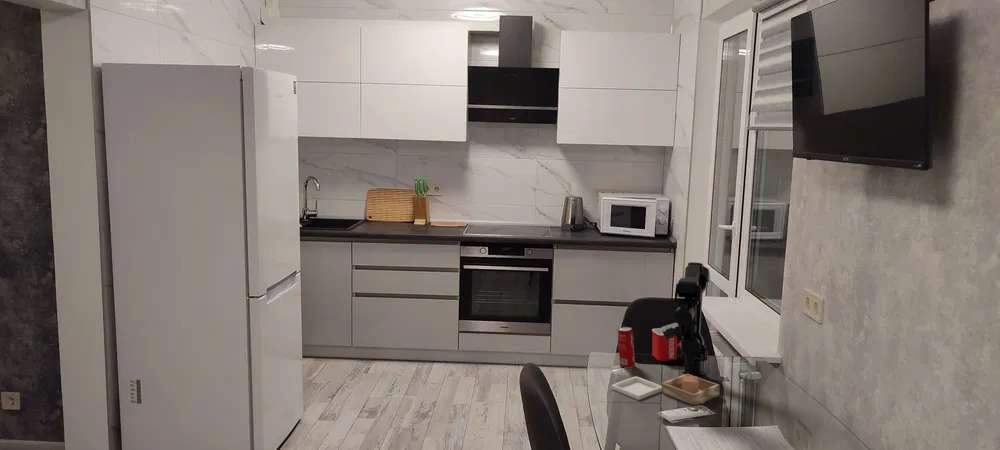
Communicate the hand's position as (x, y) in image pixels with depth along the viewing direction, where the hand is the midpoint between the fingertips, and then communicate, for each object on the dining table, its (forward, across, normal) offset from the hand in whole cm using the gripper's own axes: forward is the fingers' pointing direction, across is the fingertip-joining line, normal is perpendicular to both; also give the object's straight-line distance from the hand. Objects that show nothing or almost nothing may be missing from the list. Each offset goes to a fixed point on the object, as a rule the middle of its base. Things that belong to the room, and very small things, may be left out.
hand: (686, 361), depth 235 cm
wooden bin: (+11, +2, +1) cm, 12 cm away
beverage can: (+12, -24, -19) cm, 33 cm away
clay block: (+11, +2, +1) cm, 11 cm away
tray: (+11, 0, -17) cm, 20 cm away
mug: (+12, -35, -2) cm, 37 cm away
